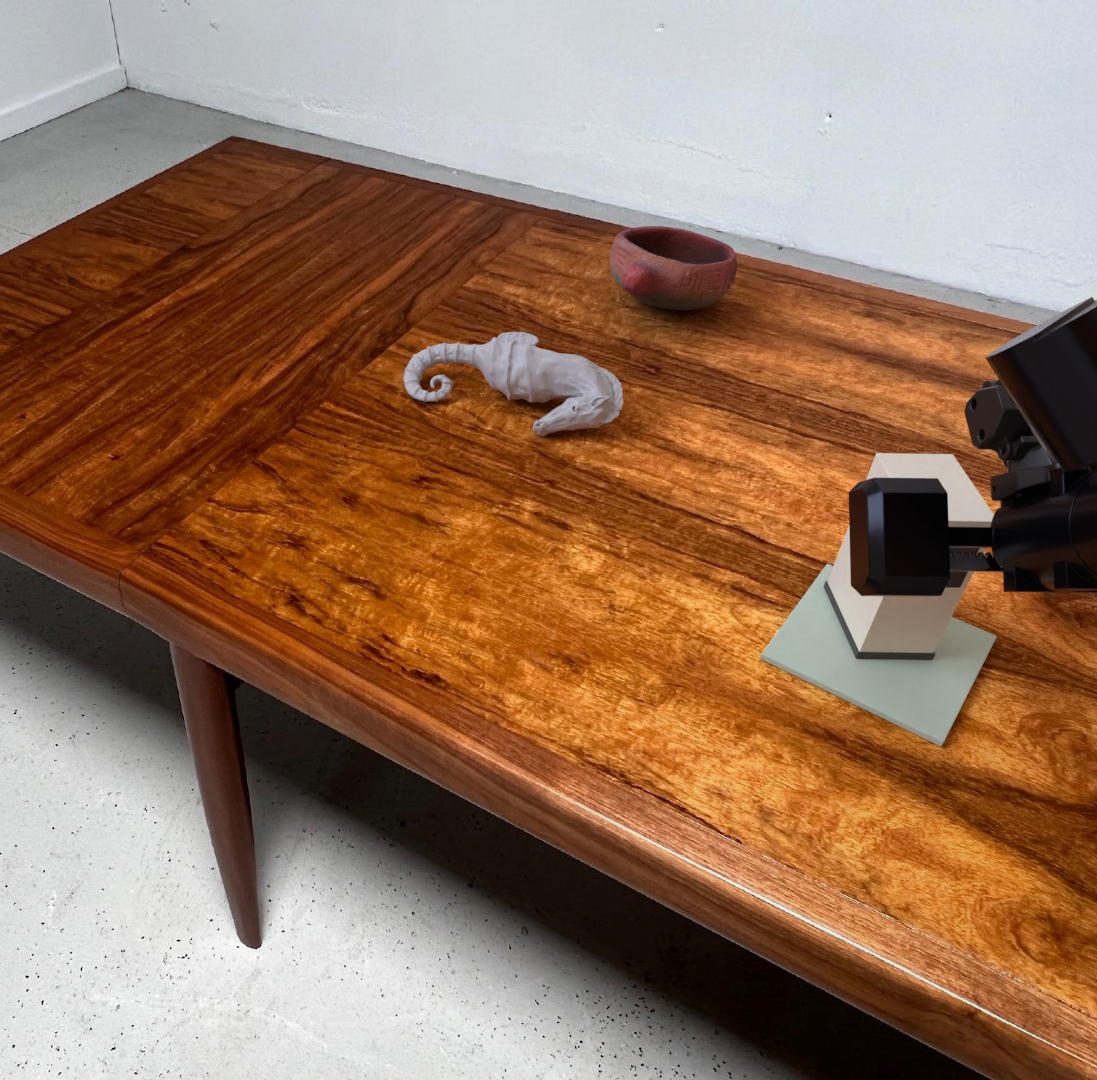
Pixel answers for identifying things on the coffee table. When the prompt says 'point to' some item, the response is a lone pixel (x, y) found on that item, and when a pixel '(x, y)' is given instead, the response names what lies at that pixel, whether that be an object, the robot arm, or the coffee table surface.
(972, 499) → the white tilted block
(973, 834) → the coffee table surface
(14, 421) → the coffee table surface
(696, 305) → the bowl
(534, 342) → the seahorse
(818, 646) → the mat
